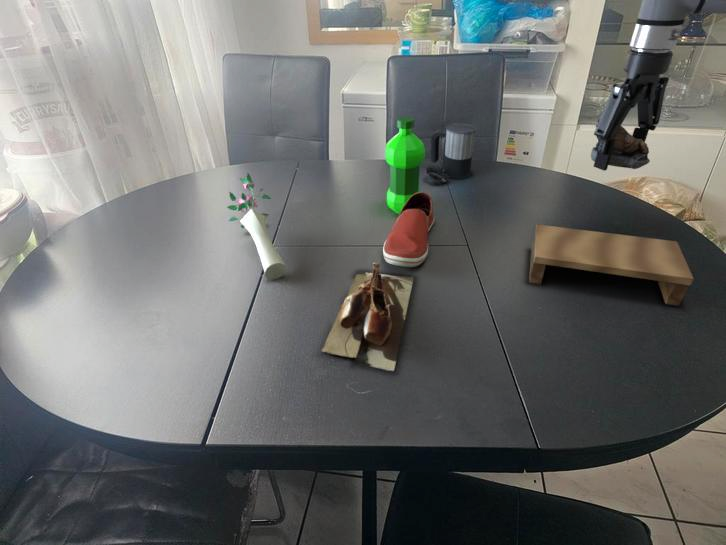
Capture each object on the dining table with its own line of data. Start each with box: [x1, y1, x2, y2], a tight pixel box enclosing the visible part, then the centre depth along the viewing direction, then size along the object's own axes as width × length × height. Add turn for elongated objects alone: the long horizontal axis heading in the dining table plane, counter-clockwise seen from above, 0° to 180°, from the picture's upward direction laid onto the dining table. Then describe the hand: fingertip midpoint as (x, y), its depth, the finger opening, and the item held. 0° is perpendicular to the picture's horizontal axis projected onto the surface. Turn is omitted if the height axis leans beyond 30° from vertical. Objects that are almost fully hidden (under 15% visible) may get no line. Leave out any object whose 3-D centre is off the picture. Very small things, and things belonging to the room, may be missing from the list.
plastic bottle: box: [384, 116, 426, 215], centre depth 117 cm, size 10×10×25 cm
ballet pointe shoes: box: [321, 262, 414, 372], centre depth 86 cm, size 14×7×28 cm
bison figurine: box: [590, 117, 651, 170], centre depth 94 cm, size 12×7×10 cm, turn 72°
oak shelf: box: [528, 224, 695, 307], centre depth 94 cm, size 28×14×7 cm, turn 71°
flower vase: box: [226, 172, 287, 280], centre depth 110 cm, size 12×12×35 cm
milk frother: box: [424, 122, 477, 185], centre depth 138 cm, size 14×16×15 cm
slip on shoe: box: [382, 191, 435, 268], centre depth 107 cm, size 11×29×9 cm, turn 162°
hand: (616, 163), depth 97 cm, fingers closed on bison figurine, 9 cm apart
